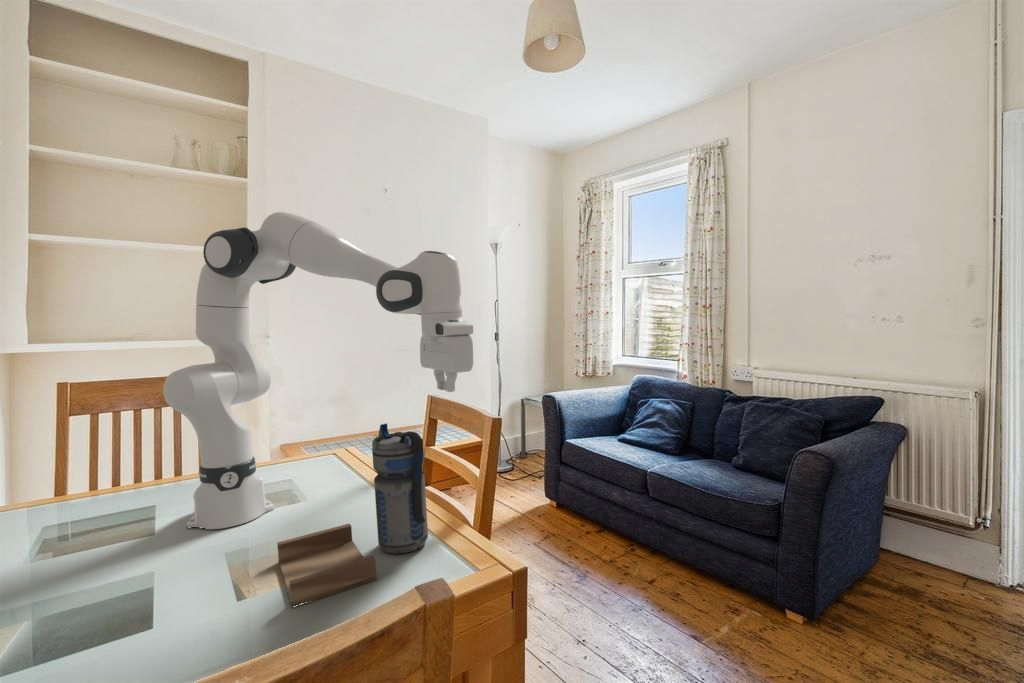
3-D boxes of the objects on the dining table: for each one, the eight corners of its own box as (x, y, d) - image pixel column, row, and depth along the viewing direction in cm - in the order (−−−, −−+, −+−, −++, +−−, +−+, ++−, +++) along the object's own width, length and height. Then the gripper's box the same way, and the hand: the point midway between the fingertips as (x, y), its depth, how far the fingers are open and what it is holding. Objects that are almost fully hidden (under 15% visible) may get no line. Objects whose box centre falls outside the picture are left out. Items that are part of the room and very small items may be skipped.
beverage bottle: (405, 565, 91) (397, 436, 90) (367, 546, 100) (359, 428, 99) (446, 544, 99) (438, 425, 98) (406, 529, 107) (399, 418, 106)
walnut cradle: (278, 562, 95) (277, 542, 95) (350, 541, 102) (349, 523, 102) (292, 608, 79) (290, 584, 79) (376, 580, 86) (375, 558, 86)
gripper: (411, 328, 110) (415, 387, 111) (448, 327, 93) (452, 397, 93) (436, 326, 113) (440, 384, 114) (477, 325, 96) (481, 393, 97)
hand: (446, 390), depth 104 cm, fingers open, 3 cm apart
